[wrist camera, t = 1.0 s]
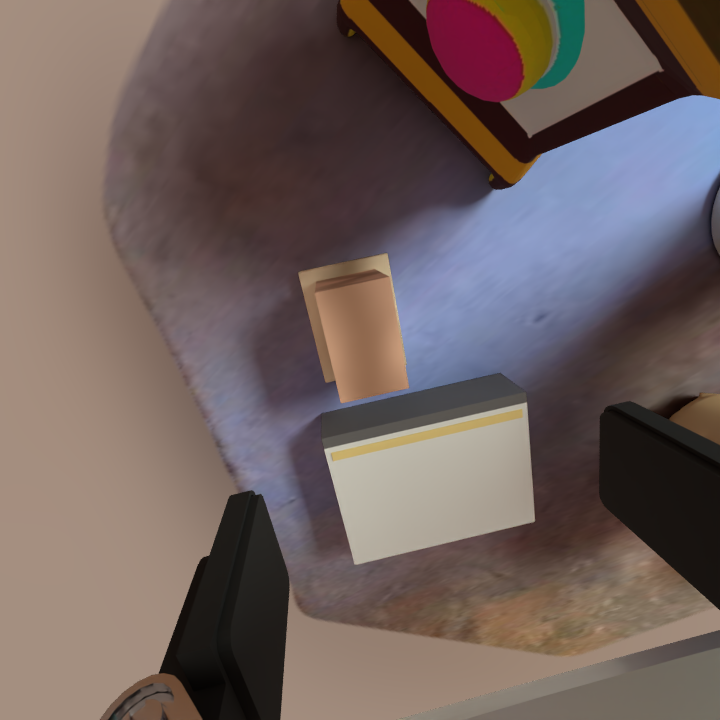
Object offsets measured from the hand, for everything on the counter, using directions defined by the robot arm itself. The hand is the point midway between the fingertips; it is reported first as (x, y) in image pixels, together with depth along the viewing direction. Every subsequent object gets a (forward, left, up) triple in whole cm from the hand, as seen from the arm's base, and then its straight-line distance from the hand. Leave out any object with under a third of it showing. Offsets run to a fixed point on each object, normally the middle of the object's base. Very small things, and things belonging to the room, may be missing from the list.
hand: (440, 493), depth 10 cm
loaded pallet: (0, 0, -26) cm, 26 cm away
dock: (-4, +16, -25) cm, 30 cm away
